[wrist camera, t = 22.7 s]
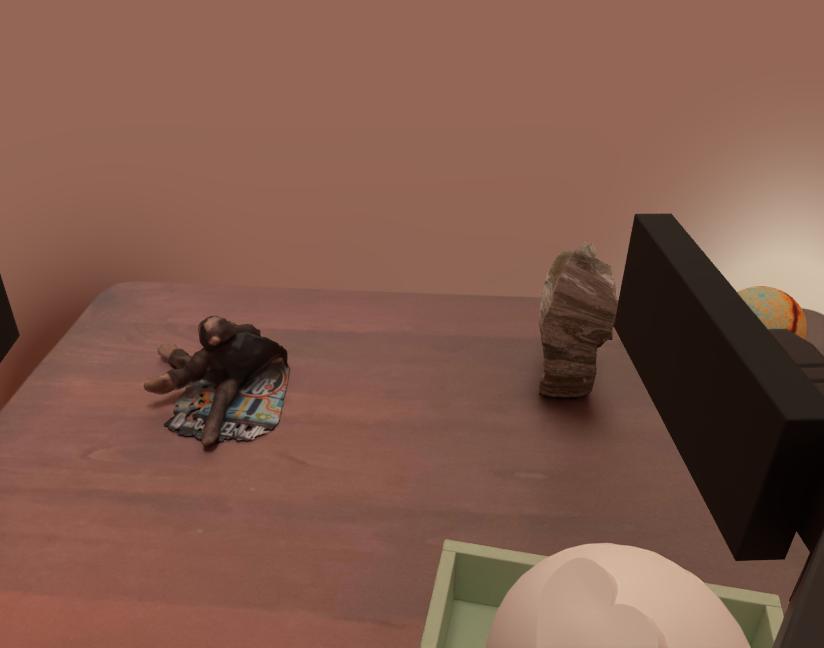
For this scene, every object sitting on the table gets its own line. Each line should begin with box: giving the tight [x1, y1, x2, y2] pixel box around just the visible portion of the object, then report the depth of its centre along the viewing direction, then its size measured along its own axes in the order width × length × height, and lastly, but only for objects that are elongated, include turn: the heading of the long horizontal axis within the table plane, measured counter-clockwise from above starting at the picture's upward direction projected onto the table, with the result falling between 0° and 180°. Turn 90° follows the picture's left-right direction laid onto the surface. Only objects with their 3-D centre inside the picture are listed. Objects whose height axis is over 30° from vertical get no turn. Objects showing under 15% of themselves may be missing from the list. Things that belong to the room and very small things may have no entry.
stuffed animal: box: [144, 316, 290, 446], centre depth 61 cm, size 12×10×12 cm
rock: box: [539, 242, 617, 398], centre depth 58 cm, size 13×6×15 cm, turn 159°
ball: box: [737, 286, 807, 340], centre depth 63 cm, size 7×7×7 cm
